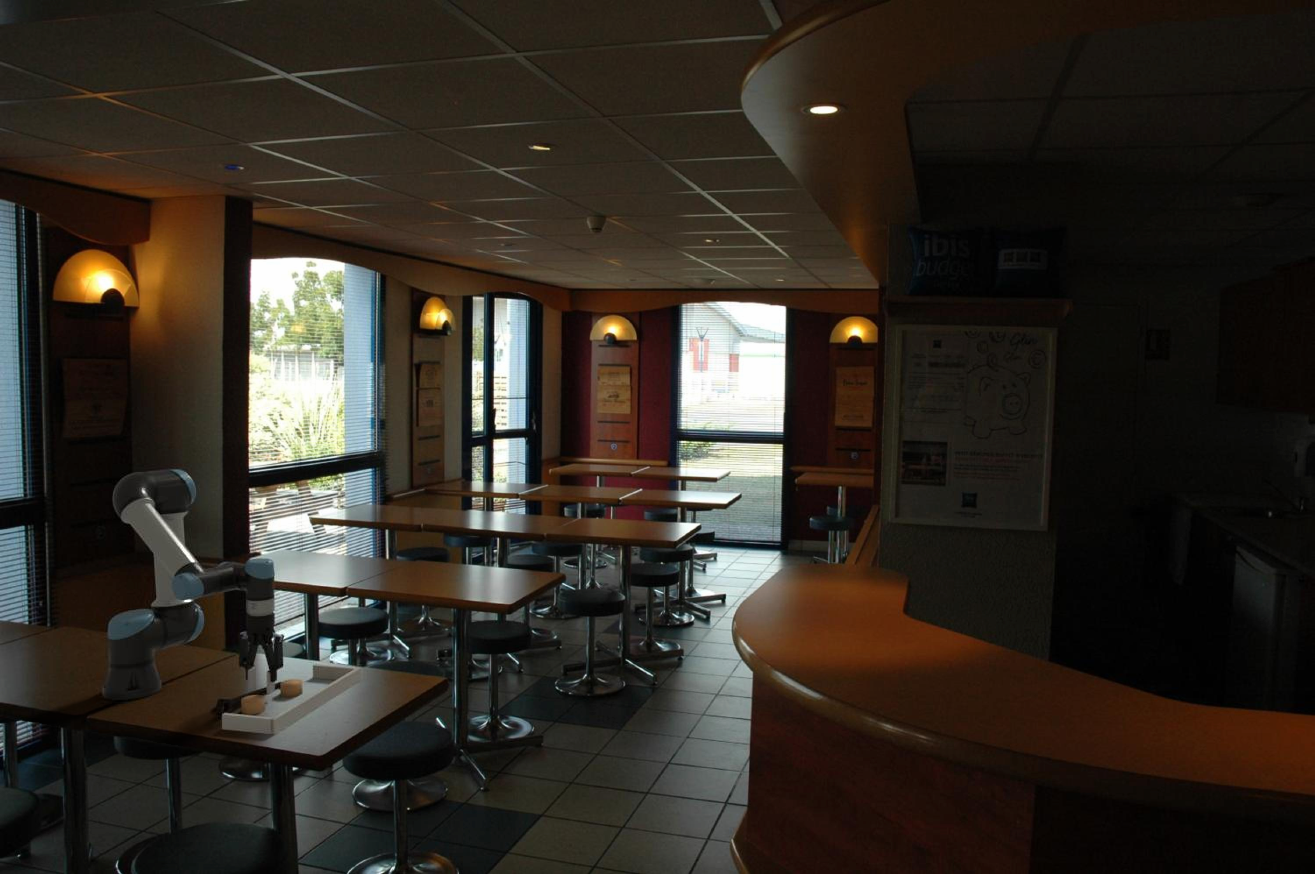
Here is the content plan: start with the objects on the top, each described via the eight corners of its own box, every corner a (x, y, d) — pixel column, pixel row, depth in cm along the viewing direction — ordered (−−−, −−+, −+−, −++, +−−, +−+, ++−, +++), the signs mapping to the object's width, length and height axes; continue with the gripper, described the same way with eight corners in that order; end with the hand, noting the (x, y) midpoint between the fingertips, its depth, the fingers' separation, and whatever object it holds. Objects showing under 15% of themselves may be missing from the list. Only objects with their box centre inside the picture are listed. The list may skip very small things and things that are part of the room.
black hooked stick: (295, 693, 273) (224, 722, 244) (280, 693, 274) (208, 721, 245) (295, 676, 273) (224, 702, 244) (280, 675, 275) (208, 702, 246)
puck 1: (236, 713, 251) (236, 701, 251) (250, 706, 257) (250, 694, 257) (255, 715, 250) (255, 703, 250) (269, 708, 256) (269, 695, 256)
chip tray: (222, 729, 240) (221, 714, 240) (315, 676, 283) (315, 664, 283) (274, 734, 237) (274, 719, 237) (360, 680, 280) (360, 667, 280)
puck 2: (276, 695, 266) (275, 683, 266) (291, 689, 272) (291, 677, 271) (291, 698, 264) (291, 687, 263) (306, 692, 269) (306, 680, 269)
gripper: (223, 614, 259) (224, 693, 260) (281, 618, 255) (282, 698, 257) (240, 607, 266) (241, 684, 267) (296, 611, 263) (297, 689, 264)
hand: (261, 691), depth 262 cm, fingers open, 5 cm apart
